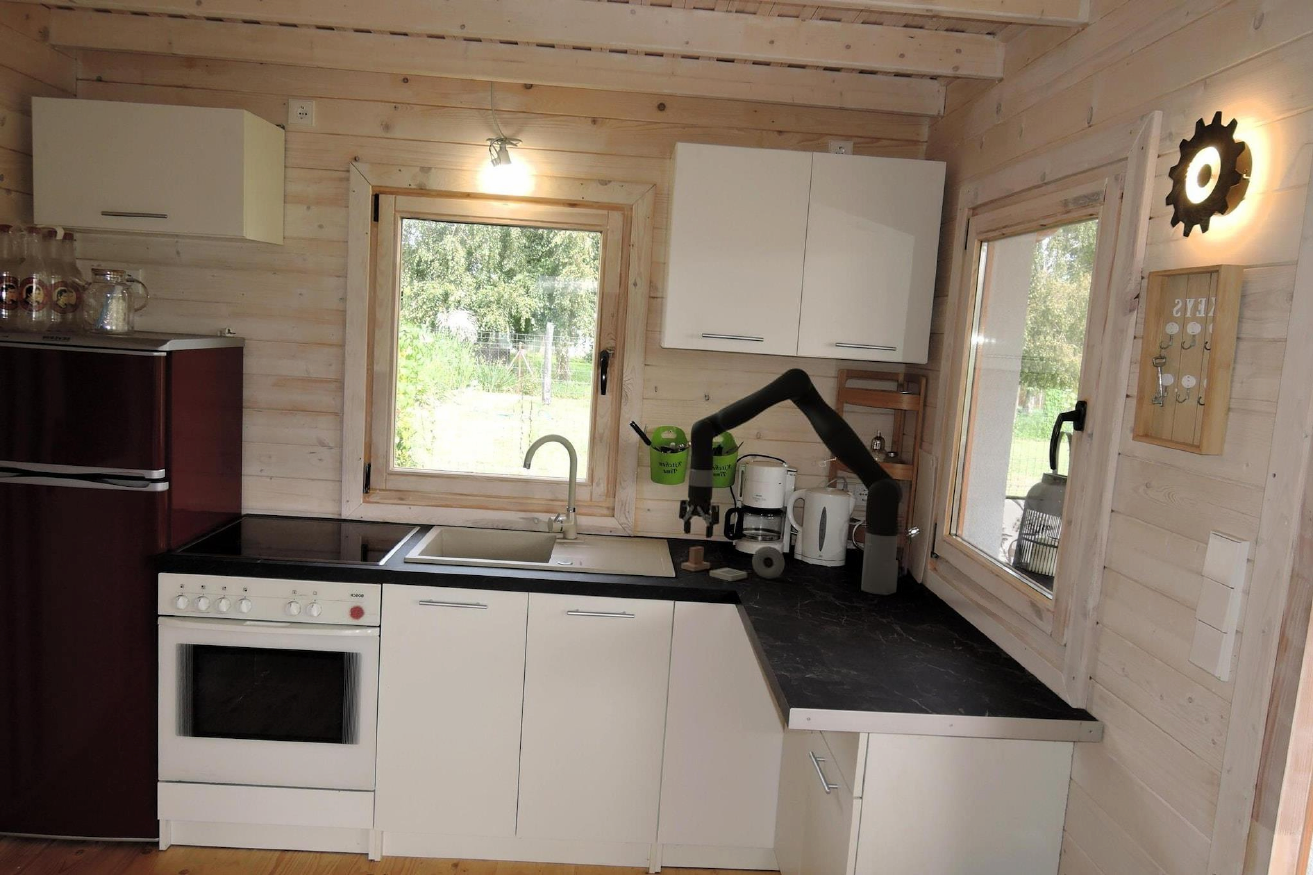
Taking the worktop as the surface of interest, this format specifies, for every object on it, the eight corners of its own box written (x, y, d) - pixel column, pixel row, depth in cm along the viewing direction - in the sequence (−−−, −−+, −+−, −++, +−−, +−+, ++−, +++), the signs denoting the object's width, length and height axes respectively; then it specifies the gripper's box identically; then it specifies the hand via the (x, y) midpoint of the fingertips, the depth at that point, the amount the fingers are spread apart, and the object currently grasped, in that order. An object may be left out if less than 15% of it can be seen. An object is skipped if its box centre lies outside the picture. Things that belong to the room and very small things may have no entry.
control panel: (746, 577, 281) (747, 572, 281) (730, 581, 275) (730, 575, 275) (725, 572, 286) (726, 567, 286) (709, 575, 280) (709, 570, 280)
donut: (749, 577, 281) (751, 544, 280) (752, 575, 284) (755, 543, 284) (781, 582, 277) (784, 549, 277) (784, 579, 281) (787, 547, 280)
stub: (709, 568, 290) (711, 547, 290) (693, 571, 284) (694, 550, 284) (697, 564, 294) (698, 544, 293) (681, 568, 288) (682, 547, 287)
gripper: (726, 485, 285) (723, 538, 286) (690, 480, 294) (688, 530, 295) (711, 487, 279) (708, 540, 280) (675, 481, 289) (672, 533, 290)
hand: (697, 535), depth 288 cm, fingers open, 8 cm apart
